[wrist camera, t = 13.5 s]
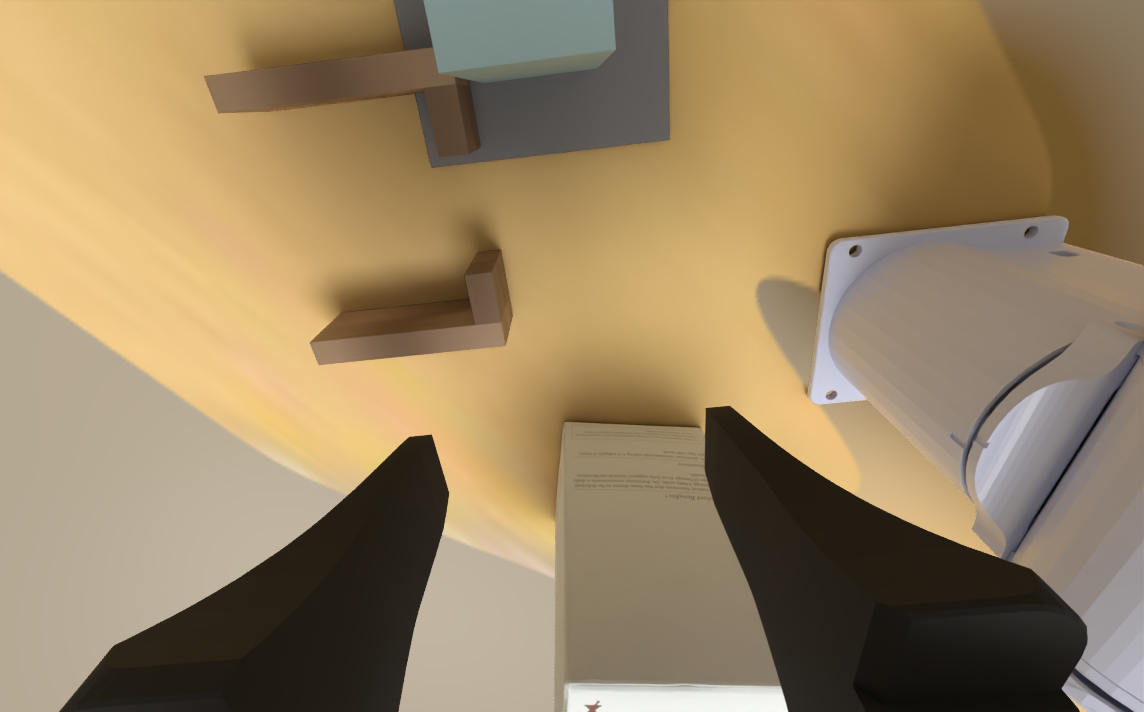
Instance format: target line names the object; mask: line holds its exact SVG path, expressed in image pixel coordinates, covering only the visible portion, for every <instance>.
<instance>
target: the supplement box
mask: <svg viewBox="0 0 1144 712" xmlns="http://www.w3.org/2000/svg"><path fill="white" fill-rule="evenodd" d="M704 466H705V436H704V433H703V431H702V429H701V428H695V427H669V426H645V425H623V424H601V423H579V422H564V424H563V433H562V444H561V454H560V465H559V475H558V486H557V499H556V520H555V708H554V709H555V710H554V712H788V709H787V706H786V702H785V699H784V695H783V692H782V688H781V685H780V681H779V678H778V674H777V671H776V668H775V665H774V661H773V658H772V655H771V651H770V648H769V645H768V641H767V638H766V635H765V632H764V629H763V626H762V622H761V619H760V616H759V613H758V610H757V607H756V604H755V600H754V598H753V595H752V592H751V590H750V587H749V585H748V582H747V580H746V577H745V575H744V573H743V570H742V568H741V566H740V563H739V561H738V559H737V556H736V554H735V552H734V550H733V547H732V545H731V543H730V540H729V538H728V536H727V533H726V531H725V529H724V526H723V524H722V522H721V519H720V517H719V515H718V512H717V510H716V507H715V505H714V502H713V498H712V495H711V492H710V488H709V485H708V481H707V477H706V474H705V470H704Z"/></svg>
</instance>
